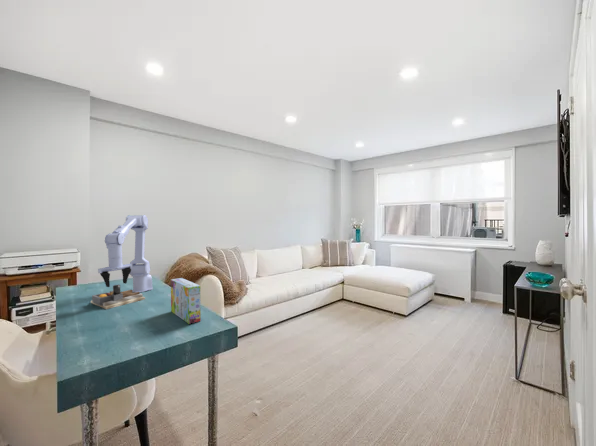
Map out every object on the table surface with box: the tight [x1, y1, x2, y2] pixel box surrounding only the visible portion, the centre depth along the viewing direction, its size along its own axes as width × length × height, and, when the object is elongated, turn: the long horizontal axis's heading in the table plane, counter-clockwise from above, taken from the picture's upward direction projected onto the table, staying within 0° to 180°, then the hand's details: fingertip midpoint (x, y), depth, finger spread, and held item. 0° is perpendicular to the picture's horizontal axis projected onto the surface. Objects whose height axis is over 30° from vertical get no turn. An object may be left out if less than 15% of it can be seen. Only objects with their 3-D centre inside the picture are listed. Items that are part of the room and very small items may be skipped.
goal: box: [91, 292, 112, 305], centre depth 140 cm, size 6×9×3 cm
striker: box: [107, 284, 123, 301], centre depth 141 cm, size 4×10×8 cm, turn 56°
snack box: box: [170, 277, 202, 325], centre depth 122 cm, size 21×6×15 cm, turn 43°
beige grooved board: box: [90, 289, 146, 310], centre depth 145 cm, size 18×18×3 cm
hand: (116, 284), depth 138 cm, fingers open, 7 cm apart
